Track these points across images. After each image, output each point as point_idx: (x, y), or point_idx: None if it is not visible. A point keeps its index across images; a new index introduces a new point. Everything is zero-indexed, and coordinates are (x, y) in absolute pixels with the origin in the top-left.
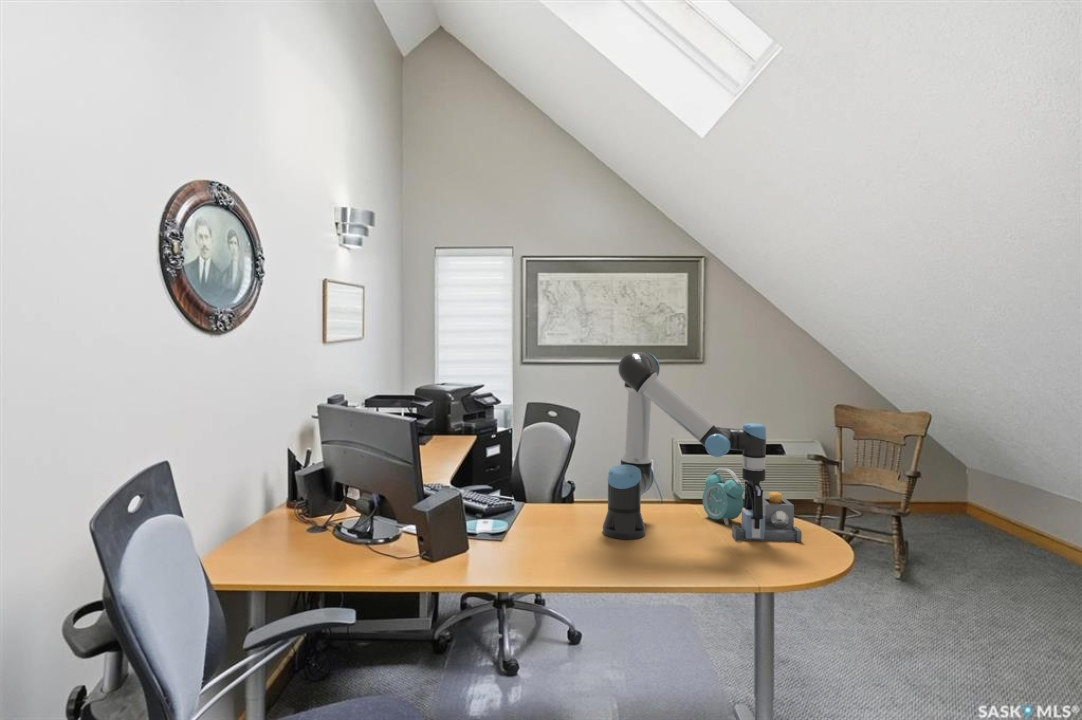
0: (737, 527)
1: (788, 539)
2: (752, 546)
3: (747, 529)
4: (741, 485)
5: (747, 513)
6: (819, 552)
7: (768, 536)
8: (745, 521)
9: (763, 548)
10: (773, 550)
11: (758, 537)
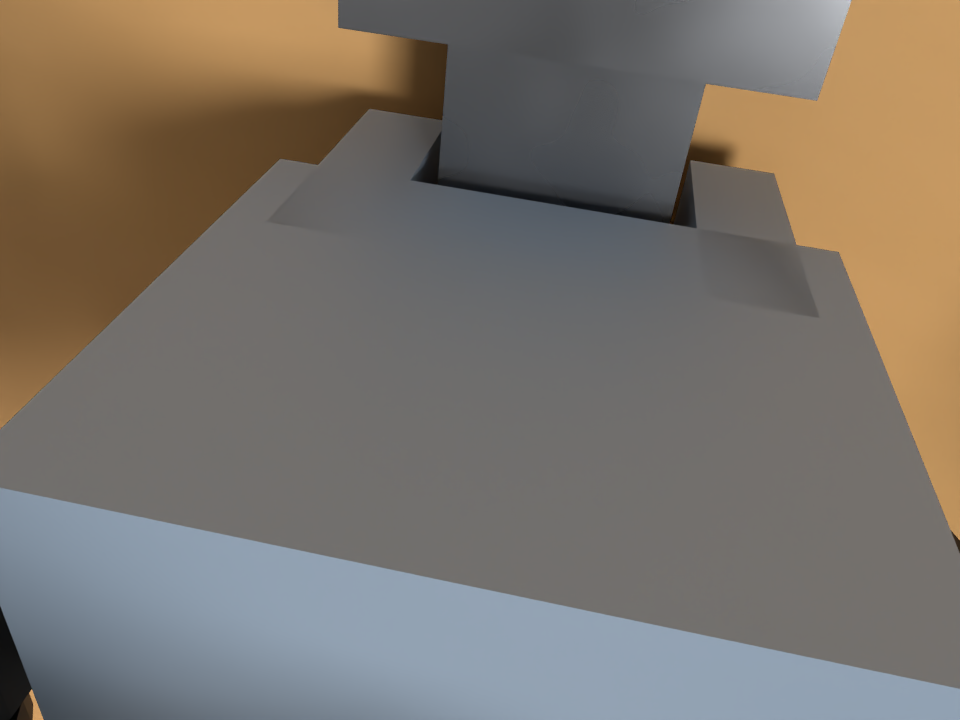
0: (547, 14)
1: None
2: (120, 93)
3: (243, 208)
4: None
5: (259, 611)
6: None
7: None
8: (335, 318)
9: (64, 240)
10: (16, 339)
11: None
